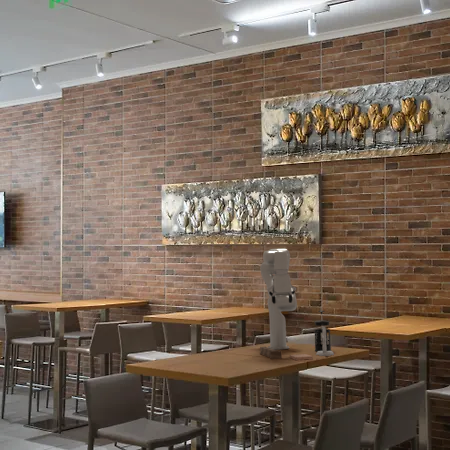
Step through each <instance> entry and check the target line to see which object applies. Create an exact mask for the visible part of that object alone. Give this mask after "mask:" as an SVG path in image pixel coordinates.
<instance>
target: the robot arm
mask: <svg viewBox="0 0 450 450" xmlns="http://www.w3.org/2000/svg"><path fill="white" fill-rule="evenodd" d="M262 259H263V260H262V261H263V262H262V263H261V264H260V267H259V268H260V269H259V270H260V275H261V278H262V280H263V281H264V283H265V285H266V291H267V295H268V297H267V302H266V303H267V308H268V315H269V340H270V341H269V342H270V345H269V346H267V348H271V349H274V350H277V351H282V350H287V349H290V346H289V345H287V326H286V325H287V323H286V317H285V315H283V314H282V312H292V311H295V310H296V309H297V308H298V301H297V296H296V291H297V287H296V286H294V285H292V282H291V276H290V274H289V269H290V261H291V254H290V251H289V250H288V249H287V248H271V249H270V248H269V250H265V251H264V252H263V254H262Z"/></svg>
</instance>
